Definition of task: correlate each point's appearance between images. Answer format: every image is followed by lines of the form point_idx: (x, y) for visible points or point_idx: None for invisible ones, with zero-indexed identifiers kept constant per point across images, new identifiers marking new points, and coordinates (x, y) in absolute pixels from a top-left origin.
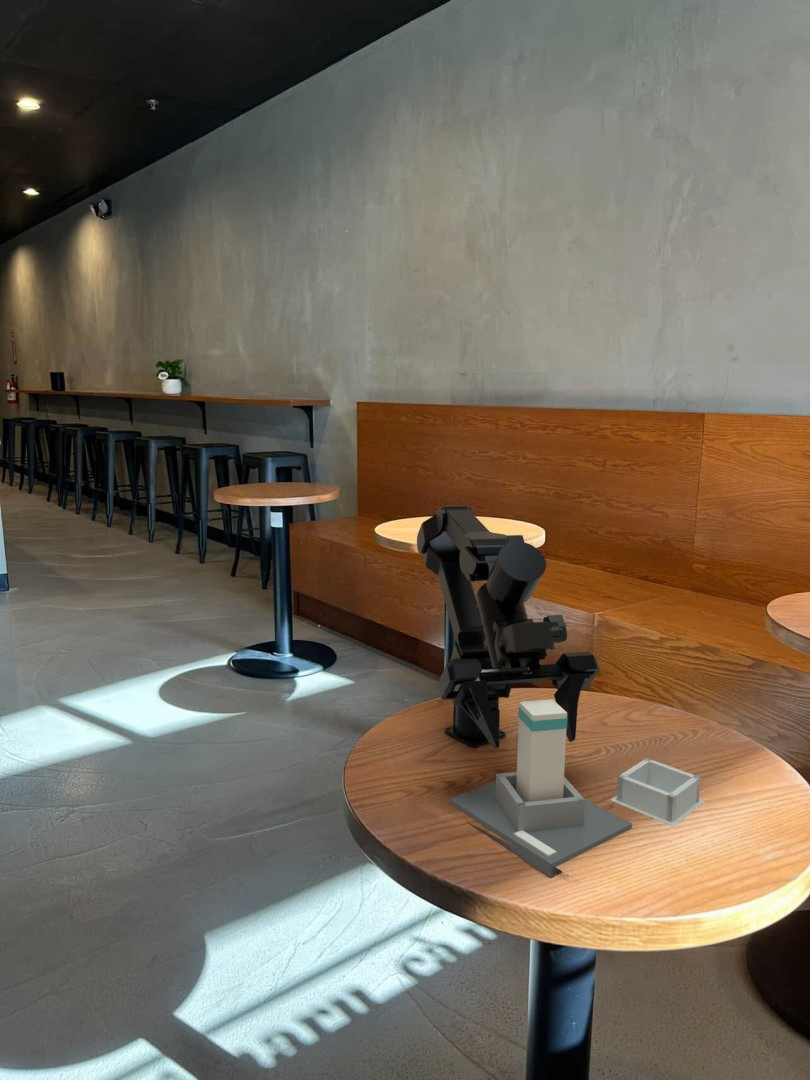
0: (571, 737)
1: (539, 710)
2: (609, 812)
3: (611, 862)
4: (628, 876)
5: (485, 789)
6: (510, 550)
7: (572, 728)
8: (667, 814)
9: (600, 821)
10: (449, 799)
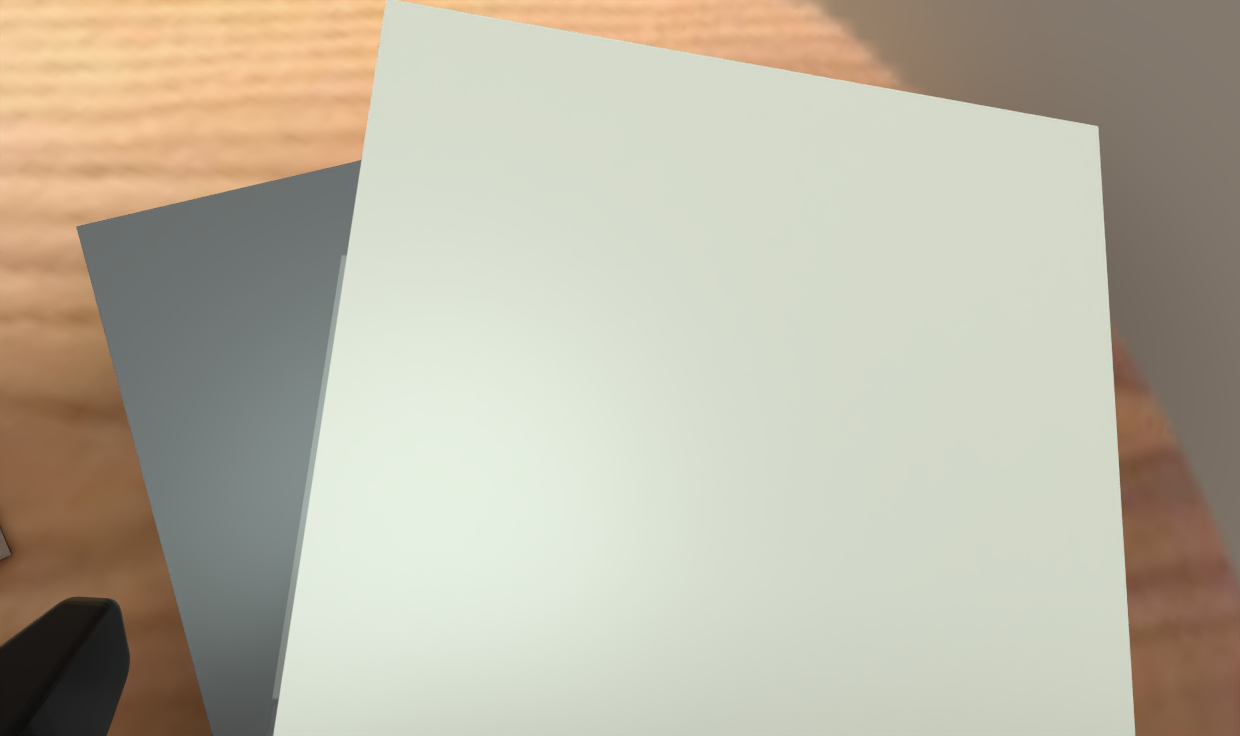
0: (109, 623)
1: (898, 294)
2: (124, 371)
3: (362, 112)
4: (353, 8)
5: None
6: None
7: (13, 687)
8: None
9: (247, 303)
10: None
